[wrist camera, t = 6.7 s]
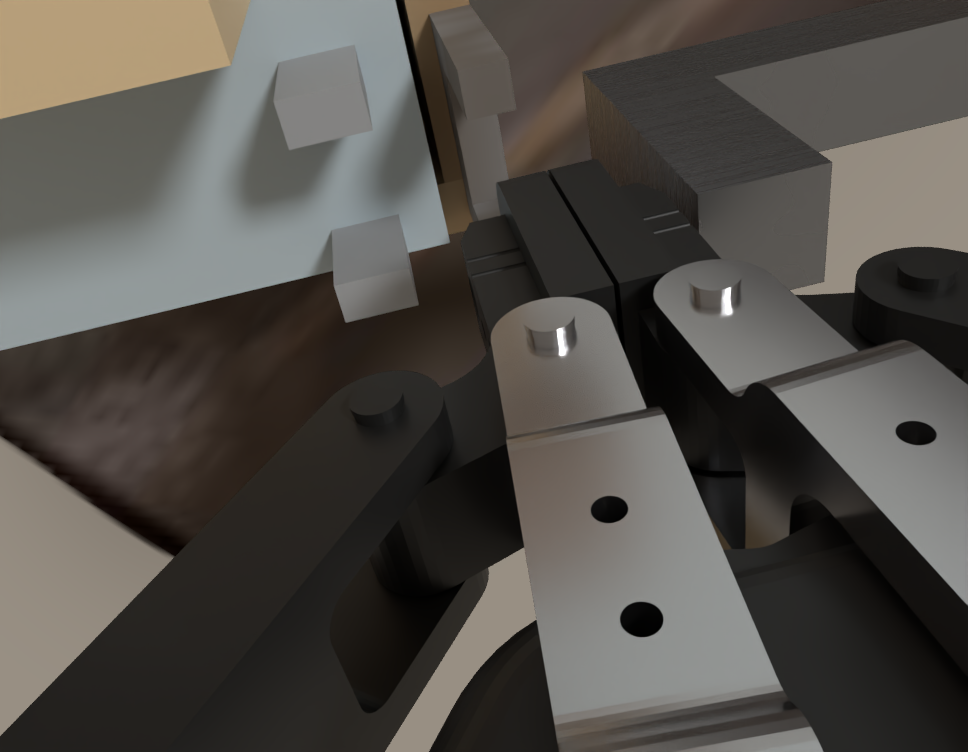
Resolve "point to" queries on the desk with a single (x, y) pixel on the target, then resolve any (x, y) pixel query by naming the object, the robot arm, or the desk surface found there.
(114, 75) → the lid
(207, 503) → the desk surface
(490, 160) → the wooden box
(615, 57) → the desk surface
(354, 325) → the desk surface
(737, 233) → the grey angled block
